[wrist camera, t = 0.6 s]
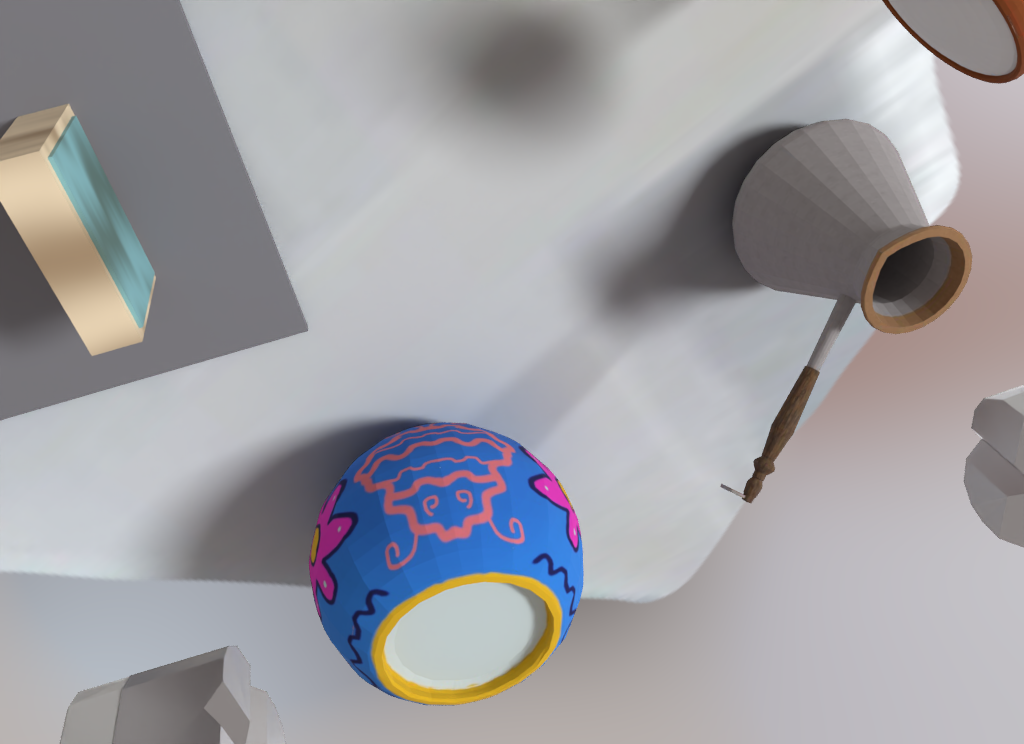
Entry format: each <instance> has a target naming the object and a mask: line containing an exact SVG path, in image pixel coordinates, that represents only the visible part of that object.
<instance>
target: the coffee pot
mask: <svg viewBox="0 0 1024 744" xmlns="http://www.w3.org/2000/svg"><path fill="white" fill-rule="evenodd" d="M732 226H733V235H734V244H735V250H736V252H737V254H738V257H739V259H740V261H741V263H742V265H743V267H744V269H745V270H746V271H747V272H748V273H749V274H750V275H751V276H752V277H753V278H754V279H755V280H756V281H757V282H759V283H761V284H763V285H765V286H767V287H770V288H772V289H774V290H777V291H783V292H790V293H796V294H803V295H809V296H815V297H822V298H828V299H835V300H837V302H836V304H835V307H834V309H833V311H832V313H831V315H830V317H829V319H828V321H827V324H826V326H825V328H824V330H823V332H822V334H821V336H820V339H819V341H818V343H817V345H816V347H815V349H814V351H813V353H812V356H811V358H810V360H809V362H808V364H807V366H805V367H804V369H803V371H802V373H801V374H800V376H799V378H798V380H797V381H796V383H795V385H794V387H793V388H792V390H791V392H790V394H789V395H788V397H787V399H786V401H785V402H784V404H783V406H782V408H781V409H780V411H779V413H778V415H777V416H776V418H775V420H774V422H773V423H772V426H771V429H770V432H769V436H768V438H767V441H766V444H765V447H764V450H763V453H762V456H761V457H759V458H757V459H755V460H754V467H755V471H754V473H753V475H752V476H753V477H752V478H750V479H749V480H748V481H747V483H746V486H745V489H744V494H741V493H739V492H737V491H735V490H733V489H731V488H729V487H727V486H725V485H723V484H721V486H720V487H722V488H724V489H726V490H728V491H730V492H732V493H734V494H736V495H738V496H740V497H742V499H743V500H745V501H746V502H749V503H752V502H754V498H756V496H757V495H758V494H759V492H760V491H761V489H762V481H764V479H765V477H766V475H768V474H770V473H772V472H774V470H775V467H774V463H773V462H774V461H775V459H776V458H777V456H778V455H779V453H780V452H781V450H782V449H783V447H784V446H785V445H786V443H787V442H788V440H789V439H790V438H791V436H792V435H793V433H794V431H795V428H796V426H797V424H798V421H799V419H800V417H801V414H802V412H803V410H804V408H805V405H806V403H807V401H808V398H809V396H810V394H811V391H812V389H813V387H814V385H815V382H816V380H817V378H818V375H819V373H820V372H819V370H820V368H821V367H822V365H823V363H824V361H825V359H826V357H827V355H828V353H829V352H830V350H831V348H832V346H833V344H834V342H835V340H836V339H837V337H838V335H839V333H840V331H841V329H842V327H843V325H844V324H845V322H846V320H847V318H848V316H849V314H850V312H851V310H852V309H853V307H854V305H855V303H861V308H862V311H863V314H864V316H865V319H866V320H867V321H868V322H869V324H870V325H871V326H872V327H874V328H876V329H878V330H880V331H882V332H885V333H893V334H900V333H906V332H911V331H914V330H916V329H919V328H922V327H924V326H926V325H927V324H929V323H930V322H932V321H934V320H935V319H937V318H938V317H939V316H940V315H942V314H943V313H944V312H945V311H946V310H947V309H949V307H950V306H951V305H952V304H953V303H954V301H955V300H956V299H957V298H958V297H959V295H960V293H961V292H962V290H963V288H964V286H965V284H966V283H967V280H968V277H969V274H970V271H971V264H972V254H971V250H970V246H969V243H968V242H967V240H966V239H965V238H964V236H963V235H962V234H961V233H960V232H958V231H957V230H955V229H953V228H951V227H945V226H939V225H935V226H929V223H928V221H927V219H926V216H925V214H924V212H923V209H922V207H921V205H920V202H919V200H918V198H917V195H916V193H915V190H914V188H913V186H912V183H911V181H910V179H909V176H908V174H907V172H906V169H905V167H904V165H903V162H902V160H901V158H900V155H899V153H898V151H897V150H896V148H895V147H894V146H893V144H892V143H891V141H890V140H889V138H888V137H887V136H886V135H885V134H884V133H882V132H881V131H879V130H878V129H876V128H874V127H873V126H871V125H870V124H867V123H862V122H858V121H854V120H849V119H841V120H829V121H821V122H817V123H814V124H811V125H808V126H805V127H803V128H800V129H797V130H795V131H793V132H791V133H790V134H788V135H787V136H785V137H784V138H782V139H781V140H779V141H778V142H776V143H775V144H773V145H772V146H771V147H770V148H769V149H768V150H767V151H766V152H765V153H764V154H763V155H762V156H761V157H760V158H759V159H758V160H757V162H756V163H755V165H754V166H753V168H752V169H751V171H750V172H749V174H748V175H747V177H746V178H745V180H744V181H743V184H742V186H741V189H740V191H739V194H738V196H737V199H736V201H735V207H734V213H733V220H732Z"/></svg>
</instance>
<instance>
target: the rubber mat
mask: <svg viewBox="0 0 1024 744" xmlns="http://www.w3.org/2000/svg"><path fill="white" fill-rule="evenodd" d="M65 104H69V105H70V107H71V109H72V111H73V113H74V115H75V116H77V118H78V120H79V122H80V124H81V126H82V128H83V130H84V132H85V134H86V136H87V138H88V140H89V142H90V144H91V146H92V148H93V150H94V152H95V154H96V156H97V158H98V160H99V162H100V164H101V166H102V168H103V170H104V172H105V174H106V176H107V178H108V180H109V182H110V184H111V186H112V188H113V190H114V192H115V194H116V196H117V198H118V200H119V202H120V204H121V206H122V208H123V210H124V212H125V214H126V216H127V218H128V220H129V222H130V224H131V226H132V228H133V230H134V232H135V234H136V236H137V238H138V240H139V242H140V244H141V246H142V248H143V250H144V252H145V254H146V256H147V258H148V260H149V262H150V264H151V266H152V268H153V270H154V272H155V276H156V280H155V285H154V289H153V294H152V299H151V304H150V308H149V313H148V318H147V323H146V327H145V332H144V337H143V341H142V342H139V343H136V344H132V345H129V346H125V347H122V348H118V349H115V350H112V351H108V352H105V353H101V354H98V355H94V356H92V355H91V354H90V352H89V350H88V349H87V347H86V345H85V344H84V342H83V340H82V339H81V337H80V335H79V333H78V332H77V330H76V328H75V327H74V325H73V323H72V322H71V320H70V318H69V317H68V315H67V313H66V312H65V310H64V308H63V306H62V305H61V303H60V301H59V300H58V298H57V296H56V295H55V293H54V291H53V290H52V288H51V286H50V284H49V283H48V281H47V279H46V278H45V276H44V274H43V273H42V271H41V269H40V268H39V266H38V264H37V263H36V261H35V259H34V257H33V256H32V254H31V252H30V251H29V249H28V247H27V246H26V244H25V242H24V241H23V239H22V237H21V235H20V234H19V232H18V230H17V229H16V227H15V225H14V224H13V222H12V220H11V219H10V217H9V215H8V214H7V212H6V210H5V208H4V207H3V205H2V203H1V202H0V420H3V419H6V418H10V417H13V416H17V415H20V414H24V413H27V412H31V411H34V410H37V409H41V408H44V407H48V406H51V405H55V404H58V403H61V402H65V401H68V400H72V399H75V398H79V397H82V396H85V395H89V394H92V393H96V392H99V391H103V390H106V389H110V388H113V387H116V386H120V385H123V384H127V383H130V382H134V381H137V380H140V379H144V378H147V377H151V376H154V375H158V374H161V373H165V372H168V371H171V370H175V369H178V368H182V367H185V366H189V365H192V364H195V363H199V362H202V361H206V360H209V359H213V358H216V357H220V356H223V355H226V354H230V353H233V352H237V351H240V350H244V349H247V348H250V347H254V346H257V345H261V344H264V343H268V342H271V341H275V340H278V339H281V338H285V337H288V336H292V335H295V334H299V333H302V332H305V331H308V326H307V323H306V321H305V318H304V316H303V313H302V311H301V308H300V306H299V303H298V301H297V298H296V295H295V293H294V290H293V288H292V285H291V283H290V280H289V278H288V275H287V273H286V270H285V268H284V265H283V262H282V260H281V257H280V255H279V252H278V250H277V247H276V245H275V242H274V240H273V237H272V235H271V232H270V229H269V227H268V224H267V222H266V219H265V217H264V214H263V212H262V209H261V207H260V204H259V202H258V199H257V196H256V194H255V191H254V189H253V186H252V184H251V181H250V179H249V176H248V174H247V171H246V169H245V166H244V163H243V161H242V158H241V156H240V153H239V151H238V148H237V146H236V143H235V141H234V138H233V136H232V133H231V130H230V128H229V125H228V123H227V120H226V118H225V115H224V113H223V110H222V108H221V105H220V103H219V100H218V97H217V95H216V92H215V90H214V87H213V85H212V82H211V80H210V77H209V75H208V72H207V70H206V67H205V64H204V62H203V59H202V57H201V54H200V52H199V49H198V47H197V44H196V42H195V39H194V37H193V34H192V31H191V29H190V26H189V24H188V21H187V19H186V16H185V14H184V11H183V9H182V6H181V4H180V1H179V0H0V139H1V138H2V137H3V135H4V134H5V133H6V131H7V130H8V129H9V127H10V126H11V125H12V123H13V122H14V121H15V119H16V118H17V117H19V116H23V115H27V114H30V113H34V112H38V111H42V110H46V109H50V108H54V107H58V106H61V105H65Z"/></svg>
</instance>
